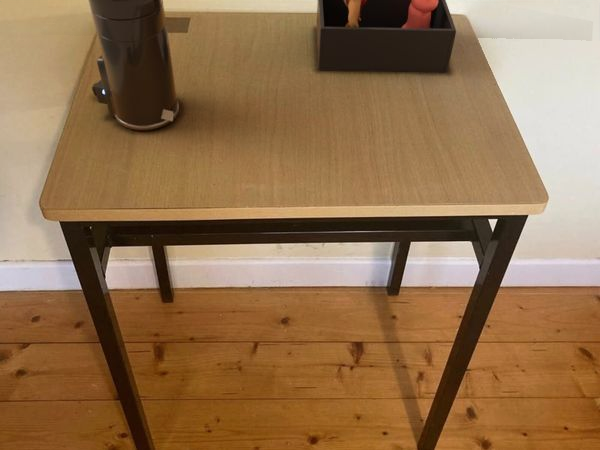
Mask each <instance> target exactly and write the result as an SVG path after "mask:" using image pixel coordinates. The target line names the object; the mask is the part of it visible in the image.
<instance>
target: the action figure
mask: <svg viewBox="0 0 600 450" xmlns="http://www.w3.org/2000/svg"><path fill="white" fill-rule="evenodd" d="M366 1H367V0H344V2H345V4H346V6H347V7H348V8H349V16H348V20H349V23H347V24H346V25H345V27H359V25H358V20H360V21H361V19H360V17H359V16H360V12H361V10H362V6H363V5H364V4H365V3H366Z"/></svg>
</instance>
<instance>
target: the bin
mask: <svg viewBox="0 0 600 450" xmlns="http://www.w3.org/2000/svg"><path fill="white" fill-rule="evenodd" d="M410 4H411V0H367V1H366V3H365V4H364V5H363V6H362V10H361V12H360V16H359V17H360V19H361V21H360V20H358V25H359V27H345V25H346V24H347V23H349V20H348V16H349V8H348V7H347V6H346V4H345V2H344V0H317V5H316V6H317V7H316V50H317V69H318V71H338V72H340V71H341V72H343V71H344V72H347V71H348V72H399V73H401V72H403V73H405V72H407V73H408V72H409V73H410V72H411V73H448V70H449V65H450V60H451V56H452V53H453V47H454V43H455V39H456V34H457V29H456V26H455V23H454V20H453V17H452V14H451V11H450V9H449V6H448V3H447V0H438V5H437V7H436V8H435V9H434V10H433V11H431V21H430V28H431V29H429V28H402V26H403V25H404V24H406V23H407V20H408V11H409V6H410Z"/></svg>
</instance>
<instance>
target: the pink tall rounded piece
mask: <svg viewBox="0 0 600 450" xmlns="http://www.w3.org/2000/svg"><path fill="white" fill-rule="evenodd" d="M437 5H438V0H411V4H410V6H409V11H408V20H407V23H406V24H404V25H403V26H402V28H429V29H431V28H430V21H431V11H433V10H434V9H435V8H436V7H437Z"/></svg>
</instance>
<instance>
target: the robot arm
mask: <svg viewBox="0 0 600 450" xmlns="http://www.w3.org/2000/svg"><path fill="white" fill-rule="evenodd" d="M88 4H89V8H90V10H91V17H92V20H93V24H94V28H95V33H96V37H97V41H98V45H99V50H100V56H98V57H97V59H96V64H97V68H98V72H99V76H100V80H99V81H98V82H95V83H93V85H92V86H91V90H92V93H93V95H94V96H95V97H96V98H97V102H98V103H99V104H104V105H107V110H108V114H109V117H111V118H114V119H115V120H116V121H117V122H118V124H119V125H121V126H123V127H124V128H126V129H129V130H134V131H153V130H157V129H160V128H163V127H165V126H167V125H169V124H170V123H172V122H173V121H174V120H175V119H176V118H177V116H178V115H179V113H180V106H179V100H178V97H177V89H176V82H175V81H176V80H175V74H174V68H173V60H172V54H171V47H170V40H169V32H168V27H167V26H168V25H167V19H166V12H165V6H164V0H88Z"/></svg>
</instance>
